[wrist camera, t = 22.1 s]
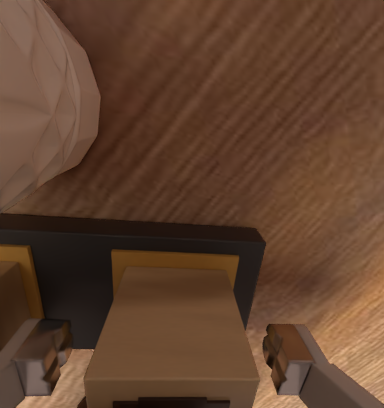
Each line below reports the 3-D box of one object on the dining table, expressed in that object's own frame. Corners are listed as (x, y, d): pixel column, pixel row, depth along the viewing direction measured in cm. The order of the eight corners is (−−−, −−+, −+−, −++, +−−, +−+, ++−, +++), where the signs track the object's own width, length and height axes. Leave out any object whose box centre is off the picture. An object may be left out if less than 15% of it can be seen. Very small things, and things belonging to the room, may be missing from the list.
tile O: (126, 265, 9) (80, 382, 5) (226, 269, 10) (262, 383, 6) (128, 339, 11) (94, 475, 7) (214, 340, 11) (235, 471, 7)
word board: (-109, 206, 10) (-165, 223, 8) (256, 227, 11) (268, 245, 9) (-59, 321, 12) (-95, 351, 11) (235, 327, 13) (242, 355, 12)
